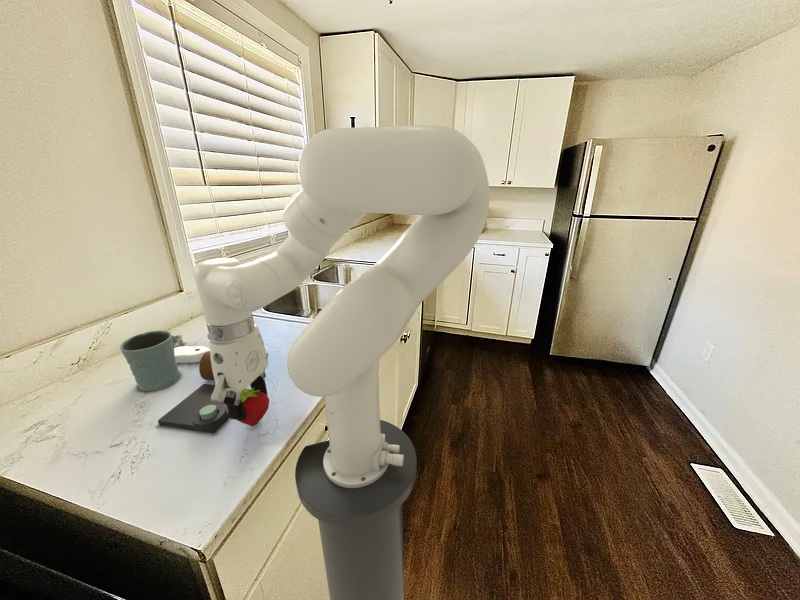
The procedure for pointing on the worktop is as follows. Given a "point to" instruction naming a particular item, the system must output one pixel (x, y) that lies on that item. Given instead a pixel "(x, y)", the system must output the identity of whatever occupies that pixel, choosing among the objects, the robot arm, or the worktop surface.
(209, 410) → the button
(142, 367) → the green plant pot
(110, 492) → the worktop surface
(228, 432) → the worktop surface
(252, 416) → the strawberry
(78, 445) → the worktop surface
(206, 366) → the mug
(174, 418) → the scale
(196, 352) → the spatula
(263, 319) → the worktop surface
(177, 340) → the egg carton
